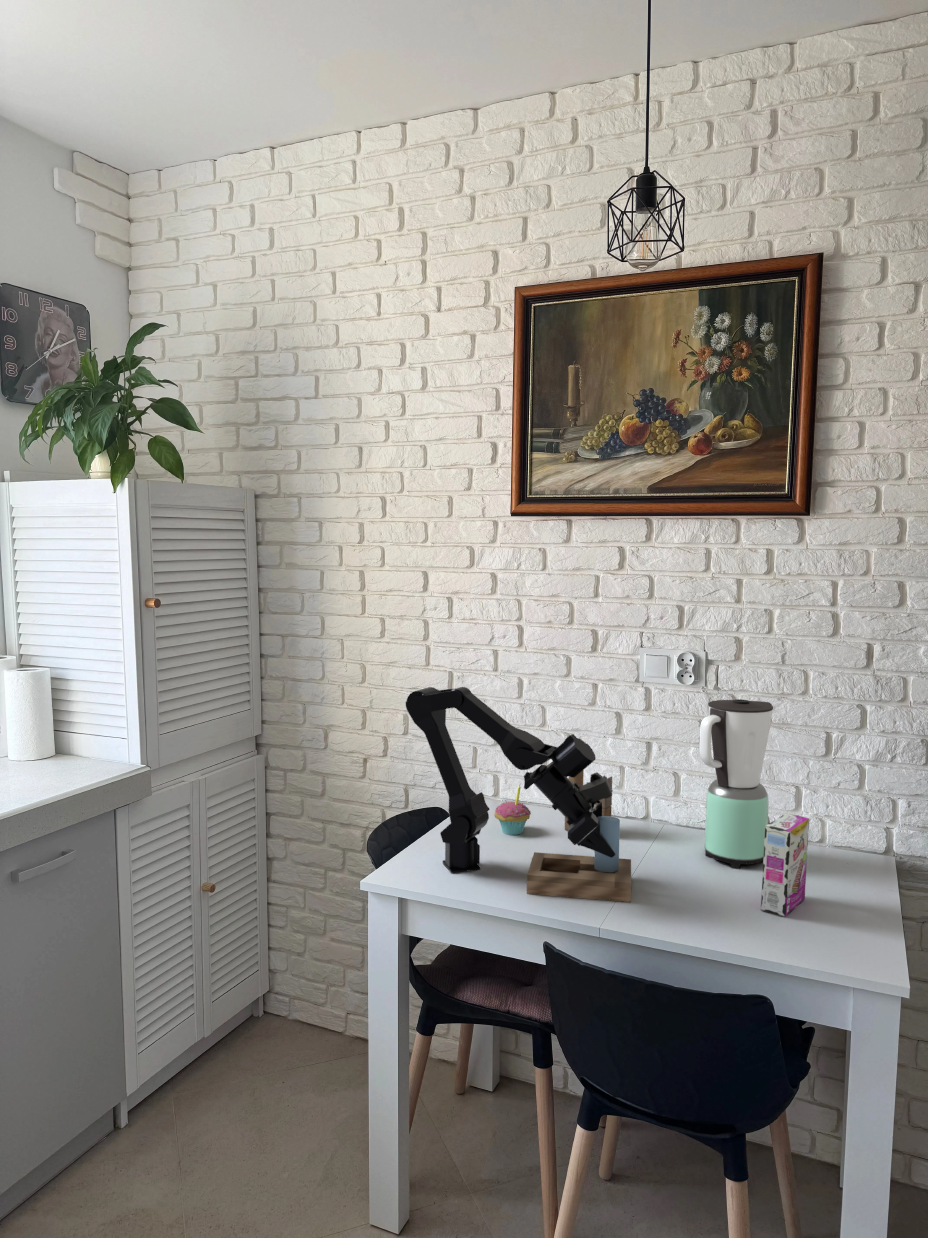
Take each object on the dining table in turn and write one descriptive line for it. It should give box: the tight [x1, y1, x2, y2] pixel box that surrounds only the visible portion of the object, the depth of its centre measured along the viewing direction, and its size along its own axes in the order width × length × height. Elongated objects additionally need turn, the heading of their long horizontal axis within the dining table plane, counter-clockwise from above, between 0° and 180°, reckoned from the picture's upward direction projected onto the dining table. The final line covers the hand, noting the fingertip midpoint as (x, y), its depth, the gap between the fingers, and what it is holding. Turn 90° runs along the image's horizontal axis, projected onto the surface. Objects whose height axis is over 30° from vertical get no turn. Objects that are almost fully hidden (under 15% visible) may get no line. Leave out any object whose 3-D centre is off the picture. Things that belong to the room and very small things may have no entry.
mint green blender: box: [698, 698, 774, 870], centre depth 189 cm, size 19×13×35 cm
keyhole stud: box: [594, 815, 621, 873], centre depth 174 cm, size 6×6×13 cm
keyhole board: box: [526, 851, 632, 903], centre depth 175 cm, size 20×13×4 cm, turn 79°
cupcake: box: [494, 784, 532, 836], centre depth 207 cm, size 9×8×12 cm
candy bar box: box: [760, 813, 810, 918], centre depth 165 cm, size 11×5×16 cm, turn 141°
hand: (614, 848), depth 173 cm, fingers open, 9 cm apart
